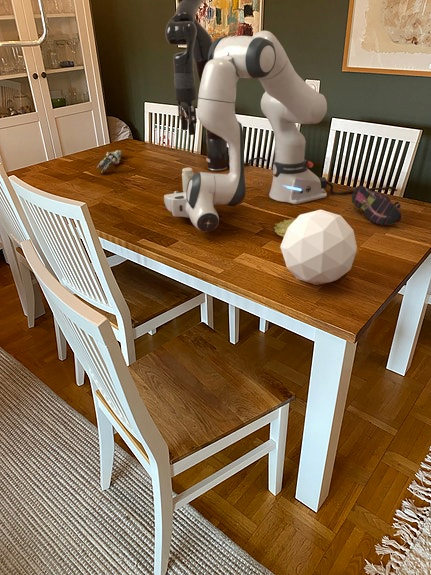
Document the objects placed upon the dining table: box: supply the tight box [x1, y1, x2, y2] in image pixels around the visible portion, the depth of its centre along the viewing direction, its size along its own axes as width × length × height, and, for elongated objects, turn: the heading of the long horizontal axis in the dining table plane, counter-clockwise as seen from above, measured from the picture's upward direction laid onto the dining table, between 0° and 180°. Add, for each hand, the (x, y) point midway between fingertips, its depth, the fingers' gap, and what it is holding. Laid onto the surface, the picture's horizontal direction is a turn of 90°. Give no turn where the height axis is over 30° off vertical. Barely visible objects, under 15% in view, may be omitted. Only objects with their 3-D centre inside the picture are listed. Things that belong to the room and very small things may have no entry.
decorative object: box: [273, 218, 296, 238], centre depth 145 cm, size 21×2×20 cm
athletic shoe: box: [351, 185, 403, 226], centre depth 153 cm, size 11×22×12 cm
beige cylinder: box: [181, 167, 195, 193], centre depth 163 cm, size 4×4×15 cm
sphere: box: [279, 209, 358, 286], centre depth 117 cm, size 19×20×20 cm
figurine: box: [96, 150, 123, 174], centre depth 213 cm, size 7×8×30 cm
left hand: (188, 132), depth 168 cm, fingers open, 8 cm apart
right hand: (188, 191), depth 163 cm, fingers open, 8 cm apart
